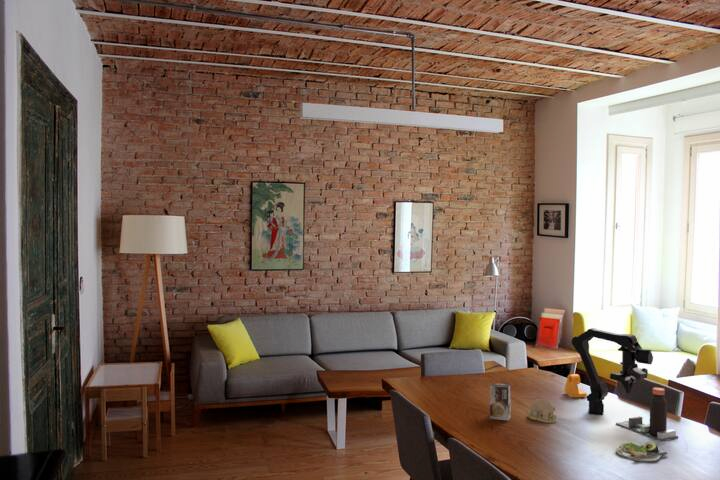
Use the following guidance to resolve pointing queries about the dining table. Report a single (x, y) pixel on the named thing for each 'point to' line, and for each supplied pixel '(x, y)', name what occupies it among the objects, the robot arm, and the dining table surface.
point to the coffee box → (500, 401)
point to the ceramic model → (542, 411)
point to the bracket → (573, 386)
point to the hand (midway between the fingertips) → (628, 393)
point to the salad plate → (641, 451)
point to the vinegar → (658, 411)
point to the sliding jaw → (639, 424)
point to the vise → (660, 435)
